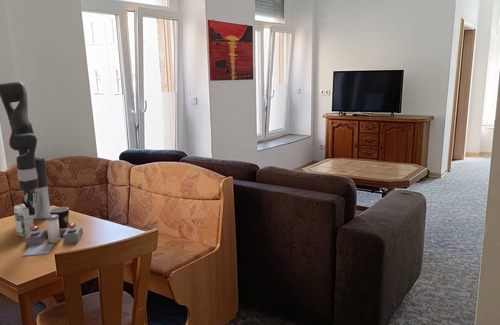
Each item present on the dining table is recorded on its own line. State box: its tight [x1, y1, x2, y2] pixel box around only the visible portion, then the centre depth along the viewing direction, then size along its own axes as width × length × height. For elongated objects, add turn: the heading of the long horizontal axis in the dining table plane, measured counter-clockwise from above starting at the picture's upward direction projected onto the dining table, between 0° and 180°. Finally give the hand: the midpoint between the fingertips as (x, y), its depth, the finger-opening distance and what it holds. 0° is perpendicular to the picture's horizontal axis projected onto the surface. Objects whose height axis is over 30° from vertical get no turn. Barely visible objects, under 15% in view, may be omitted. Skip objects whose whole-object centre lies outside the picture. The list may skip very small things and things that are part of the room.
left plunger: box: [30, 224, 40, 236], centre depth 180 cm, size 4×4×4 cm
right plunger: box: [67, 222, 77, 233], centre depth 184 cm, size 4×4×4 cm
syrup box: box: [13, 203, 35, 238], centre depth 190 cm, size 6×6×14 cm
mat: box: [22, 243, 55, 257], centre depth 173 cm, size 10×10×1 cm
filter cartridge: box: [44, 214, 62, 244], centre depth 182 cm, size 5×5×12 cm
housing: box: [24, 226, 84, 247], centre depth 184 cm, size 12×22×4 cm, turn 102°
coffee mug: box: [50, 206, 70, 229], centre depth 196 cm, size 12×9×10 cm
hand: (32, 214), depth 179 cm, fingers closed
